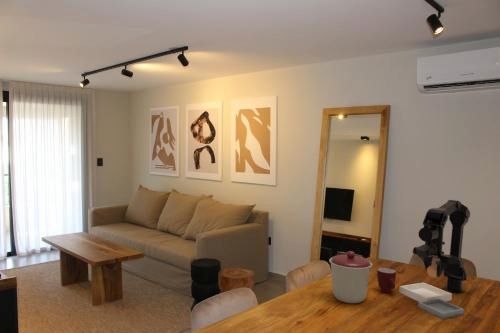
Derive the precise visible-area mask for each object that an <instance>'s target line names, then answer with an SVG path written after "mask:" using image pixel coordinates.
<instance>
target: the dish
mask: <svg viewBox="0 0 500 333" xmlns="http://www.w3.org/2000/svg"><path fill="white" fill-rule="evenodd" d="M398 292H399V294H401V295H404V296H406V297H408V298H410V299H412V300H414V301H417V302H422V301H427V300H433V299H438V298H439V299H441V300H444V301H446V302H449V301H452V299H453V298H452V297H453V294H452V292H450V291H446V290H445V289H444V290H443V289H441V288H439V287H437V286H434V285H430V284H428V283H425V282H420V283H419V282H418V283H412V284H406V285H399V291H398Z"/></svg>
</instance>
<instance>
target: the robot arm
mask: <svg viewBox="0 0 500 333" xmlns="http://www.w3.org/2000/svg"><path fill="white" fill-rule="evenodd" d="M470 217H471V211H470V209H469V207H468V206H466V205H464V204H462V202H461V201H460V200H456V199H455V200H454V199H449V200H447V201H446V202H445V203H444V204H443V205H441V206H439V207H434V208H433V207H432V208H429V209H428V210H427V211H426V214H425V216H424V219H423V222H422V225H423V227H421V228H420V229H419V231H418V238H419V239H420V240H421V241H422V242H424V244H422V245H420V246H414V247H413V249H412V254H415V255H417V256H418V258H420V259H421V260H422V262H423V264H424V268H425V272H426V273H427V268H428V267H429V266H432V265H433V259H434V258H435V259H438V260H437V261H435V264H436V267H437V277H436V278H439V277H441V275H442V274H443V276H444V277H446V278H447V280H446V287H443V289H444V290H445V291H446V290H447V292H450V293H453V294H461V293H465V292H466V290H464V289H463V282H464V281H466V282H467V280H468V273H467V271H466V268H465V262H464V261H463V259H462V251H463V250H462V249H463V248H462V247H463V239H464V238H463V237H464V228H465V226H466V225H467V223H468V222H469V219H470ZM448 220H449V222H450V224H451V226H452V227H451V237H450V248H449V254H445V251H443V245H445V244H446V242H444V229H445V226H446V223H447V222H448Z"/></svg>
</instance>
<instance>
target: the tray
mask: <svg viewBox="0 0 500 333" xmlns="http://www.w3.org/2000/svg"><path fill="white" fill-rule="evenodd" d="M417 308H419V309H421V310H423V311H425V312H427V313H429V314H431V315H434V316H436V317H438V318H439V319H442V320H445V319H450V318H453V317H454V318H455V317H458V316H463V315H465V309H464V308H462V307H460V306H457V305H456V304H453V303H451V302H449V301H444V300H441V299H439V298H438V299H433V300H427V301H422V302H419V301H417Z"/></svg>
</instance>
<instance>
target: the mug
mask: <svg viewBox="0 0 500 333" xmlns="http://www.w3.org/2000/svg"><path fill="white" fill-rule="evenodd" d="M376 271H377V274H376V276H377V282H378V288H379V289H380V291H381V293H384V294H390V293H391V292H392V291H393V290H395V288H396V283H395V282H396V278H397V271H396V270H395V269H393V268H389V267H379V268H377V270H376Z"/></svg>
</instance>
